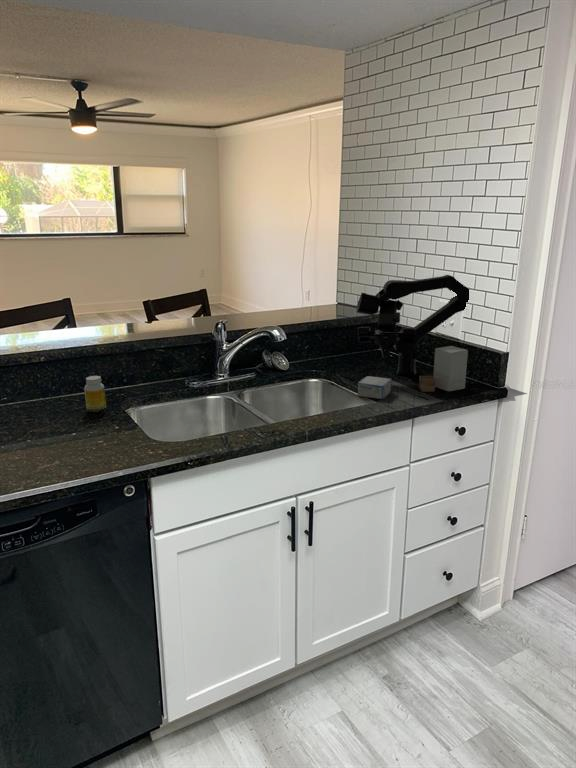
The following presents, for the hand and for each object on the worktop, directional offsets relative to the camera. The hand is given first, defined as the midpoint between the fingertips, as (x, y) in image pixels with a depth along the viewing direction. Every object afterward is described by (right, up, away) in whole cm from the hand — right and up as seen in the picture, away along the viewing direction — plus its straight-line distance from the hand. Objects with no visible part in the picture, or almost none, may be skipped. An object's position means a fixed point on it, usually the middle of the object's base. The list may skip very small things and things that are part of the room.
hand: (384, 357), depth 182 cm
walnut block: (+12, -10, -4) cm, 17 cm away
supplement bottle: (-86, -16, -21) cm, 90 cm away
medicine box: (-3, -8, -5) cm, 10 cm away
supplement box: (+20, -10, -2) cm, 22 cm away
